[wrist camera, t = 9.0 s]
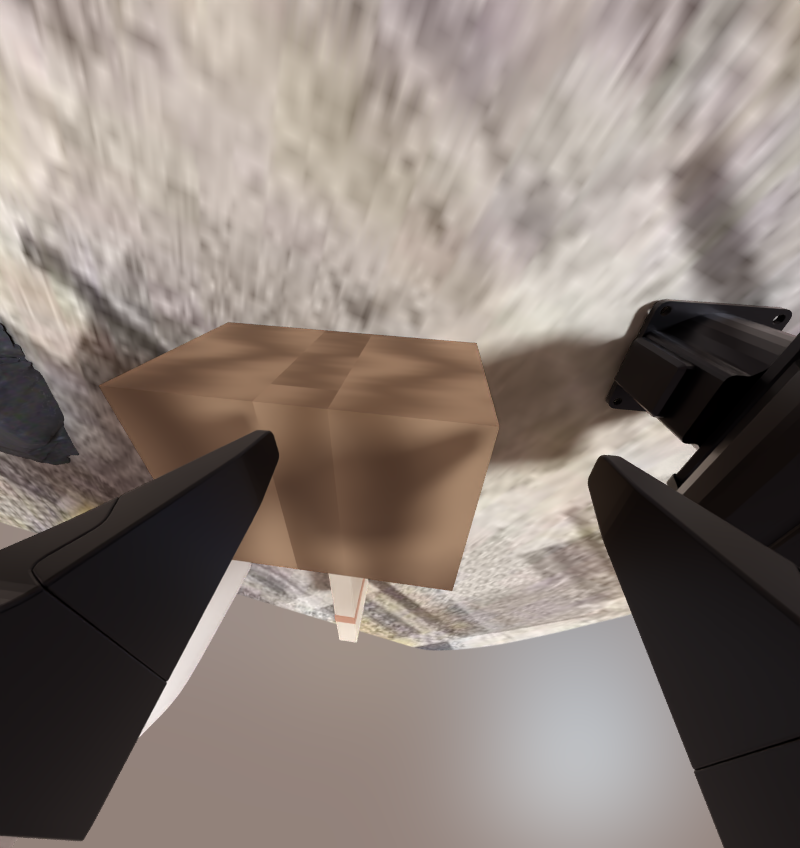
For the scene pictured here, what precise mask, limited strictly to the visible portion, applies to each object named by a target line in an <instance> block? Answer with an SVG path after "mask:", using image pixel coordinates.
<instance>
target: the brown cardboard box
mask: <svg viewBox="0 0 800 848" xmlns="http://www.w3.org/2000/svg"><path fill="white" fill-rule="evenodd" d="M99 387H100V389H101V391H102V392H103V394H104V396H105V398H106V399H107V401H108V403H109V404H110V406H111V408H112V409H113V411H114V413H115V415H116V416H117V418H118V420H119V421H120V423H121V425H122V426H123V428H124V430H125V432H126V433H127V435H128V437H129V438H130V440H131V442H132V443H133V445H134V447H135V449H136V450H137V452H138V454H139V455H140V457H141V459H142V460H143V462H144V464H145V465H146V467H147V469H148V471H149V472H150V474H151V476H152V477H153V479H156V478H158V477H160V476H162V475H164V474H166V473H168V472H171V471H173V470H175V469H177V468H179V467H181V466H183V465H185V464H187V463H189V462H191V461H193V460H195V459H197V458H200V457H202V456H204V455H206V454H208V453H210V452H212V451H214V450H216V449H218V448H220V447H222V446H224V445H227V444H229V443H231V442H233V441H235V440H237V439H239V438H241V437H243V436H245V435H247V434H249V433H251V432H253V431H256V430H269V431H271V432H272V433H273V434H274V437H275V440H276V444H277V447H278V451H279V460H278V463H277V466H276V468H275V471H274V473H273V476H272V478H271V481H270V483H269V486H268V488H267V491H266V493H265V496H264V498H263V501H262V503H261V505H260V507H259V509H258V511H257V513H256V515H255V517H254V519H253V521H252V523H251V525H250V527H249V528H248V530H247V532H246V534H245V536H244V538H243V540H242V542H241V544H240V546H239V547H238V549H237V551H236V553H235V555H234V557H233V559H232V560H236V561H243V562H251V563H258V564H265V565H272V566H279V567H286V568H293V569H300V570H307V571H315V572H322V573H329V574H336V575H343V576H350V577H357V578H364V579H371V580H378V581H386V582H393V583H400V584H407V585H414V586H421V587H428V588H435V589H442V590H450V591H452V590H453V587H454V583H455V580H456V576H457V573H458V569H459V566H460V562H461V559H462V555H463V552H464V548H465V545H466V542H467V538H468V535H469V531H470V528H471V524H472V521H473V517H474V514H475V510H476V507H477V503H478V500H479V496H480V493H481V490H482V486H483V483H484V479H485V476H486V472H487V469H488V465H489V462H490V458H491V455H492V451H493V448H494V444H495V441H496V438H497V434H498V431H499V427H500V426H499V423H498V419H497V416H496V412H495V408H494V405H493V401H492V397H491V394H490V390H489V386H488V383H487V379H486V376H485V372H484V368H483V365H482V361H481V357H480V354H479V350H478V346H477V343H468V342H456V341H444V340H432V339H420V338H408V337H396V336H384V335H373V334H361V333H349V332H337V331H325V330H313V329H301V328H289V327H277V326H265V325H254V324H242V323H230V322H228V323H226V324H224V325H222V326H220V327H218V328H216V329H214V330H212V331H210V332H207V333H205V334H203V335H201V336H199V337H197V338H195V339H193V340H191V341H189V342H187V343H185V344H183V345H181V346H179V347H177V348H175V349H173V350H171V351H169V352H167V353H164V354H162V355H160V356H158V357H156V358H154V359H152V360H150V361H148V362H146V363H144V364H142V365H140V366H138V367H136V368H134V369H132V370H130V371H128V372H126V373H123V374H121V375H119V376H117V377H115V378H113V379H111V380H109V381H107V382H105V383H103V384H101V385H99Z"/></svg>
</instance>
